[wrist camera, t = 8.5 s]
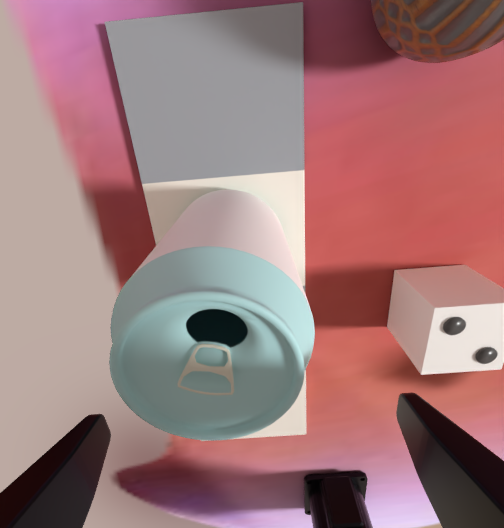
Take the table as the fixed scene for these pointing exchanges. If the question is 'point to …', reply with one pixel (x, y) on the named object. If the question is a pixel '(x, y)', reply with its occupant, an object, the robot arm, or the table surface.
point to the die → (448, 319)
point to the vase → (439, 27)
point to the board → (219, 120)
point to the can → (214, 323)
